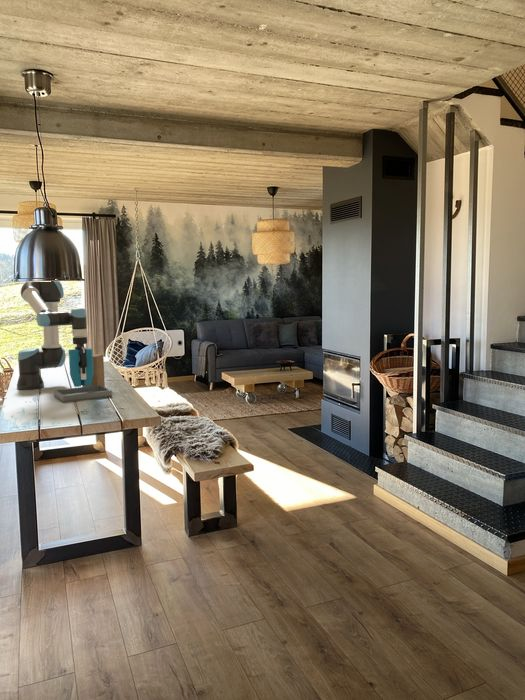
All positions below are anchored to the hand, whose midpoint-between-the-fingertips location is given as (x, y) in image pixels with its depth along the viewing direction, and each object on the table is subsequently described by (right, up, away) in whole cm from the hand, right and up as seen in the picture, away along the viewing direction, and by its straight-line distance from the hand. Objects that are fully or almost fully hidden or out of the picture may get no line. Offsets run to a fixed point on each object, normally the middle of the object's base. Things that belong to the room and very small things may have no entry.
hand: (82, 378), depth 307 cm
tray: (0, -10, +1) cm, 10 cm away
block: (0, -4, 0) cm, 4 cm away
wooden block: (-1, -7, +24) cm, 26 cm away
